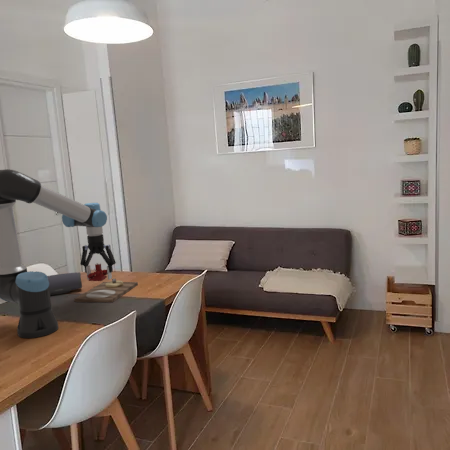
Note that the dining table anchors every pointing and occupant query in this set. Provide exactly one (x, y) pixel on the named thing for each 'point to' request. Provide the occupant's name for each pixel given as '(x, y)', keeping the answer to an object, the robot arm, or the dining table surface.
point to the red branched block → (97, 274)
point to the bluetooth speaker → (64, 283)
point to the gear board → (106, 291)
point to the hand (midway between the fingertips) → (99, 278)
